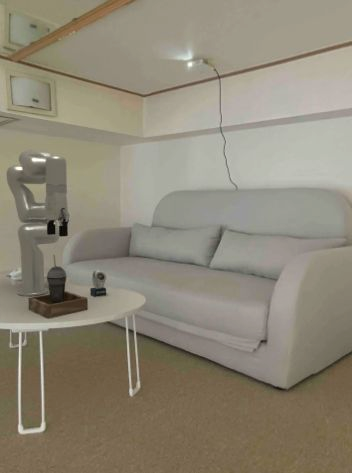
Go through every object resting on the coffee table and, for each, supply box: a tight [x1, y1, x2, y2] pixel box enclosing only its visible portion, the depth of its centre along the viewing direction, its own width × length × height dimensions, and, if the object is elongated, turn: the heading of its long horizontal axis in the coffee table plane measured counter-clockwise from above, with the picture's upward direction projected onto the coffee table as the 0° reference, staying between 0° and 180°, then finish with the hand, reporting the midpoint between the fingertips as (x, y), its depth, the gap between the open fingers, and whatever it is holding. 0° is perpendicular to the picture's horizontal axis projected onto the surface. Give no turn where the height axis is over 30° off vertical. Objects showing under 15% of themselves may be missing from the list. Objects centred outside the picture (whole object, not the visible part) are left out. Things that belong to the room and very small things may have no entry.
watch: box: [89, 269, 107, 298], centre depth 166 cm, size 6×8×11 cm
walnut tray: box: [28, 290, 89, 319], centre depth 143 cm, size 16×16×4 cm
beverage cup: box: [46, 254, 68, 304], centre depth 142 cm, size 7×7×20 cm
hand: (57, 235), depth 142 cm, fingers open, 9 cm apart
